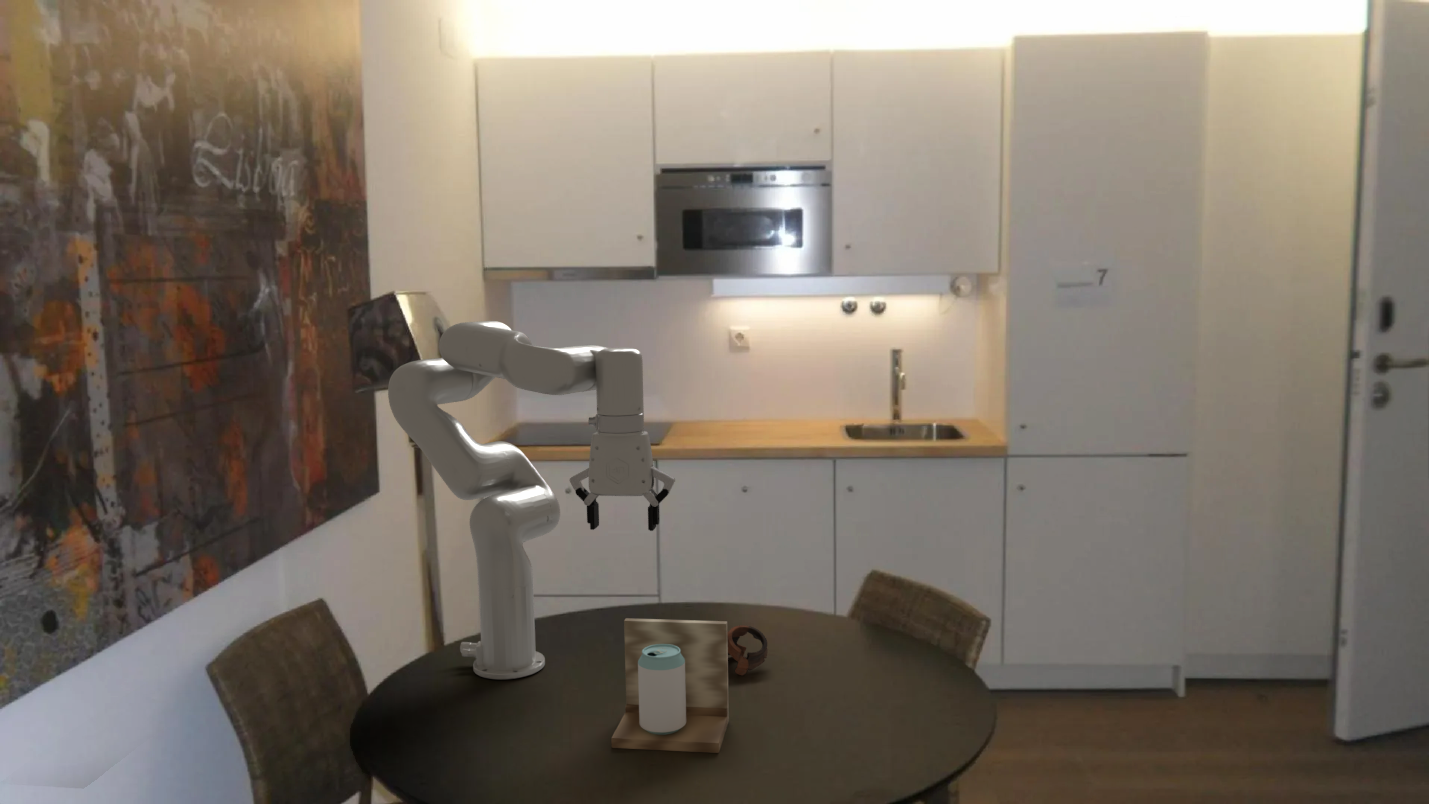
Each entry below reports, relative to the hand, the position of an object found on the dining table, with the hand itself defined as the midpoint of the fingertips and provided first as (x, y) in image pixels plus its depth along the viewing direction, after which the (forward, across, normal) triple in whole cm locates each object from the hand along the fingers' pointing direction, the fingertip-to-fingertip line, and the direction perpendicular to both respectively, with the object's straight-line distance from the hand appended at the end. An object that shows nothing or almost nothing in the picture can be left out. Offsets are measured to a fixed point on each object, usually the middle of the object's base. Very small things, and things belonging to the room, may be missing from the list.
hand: (623, 528), depth 170 cm
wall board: (+28, +10, -14) cm, 33 cm away
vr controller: (+29, +16, +15) cm, 36 cm away
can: (+27, +9, -15) cm, 32 cm away
